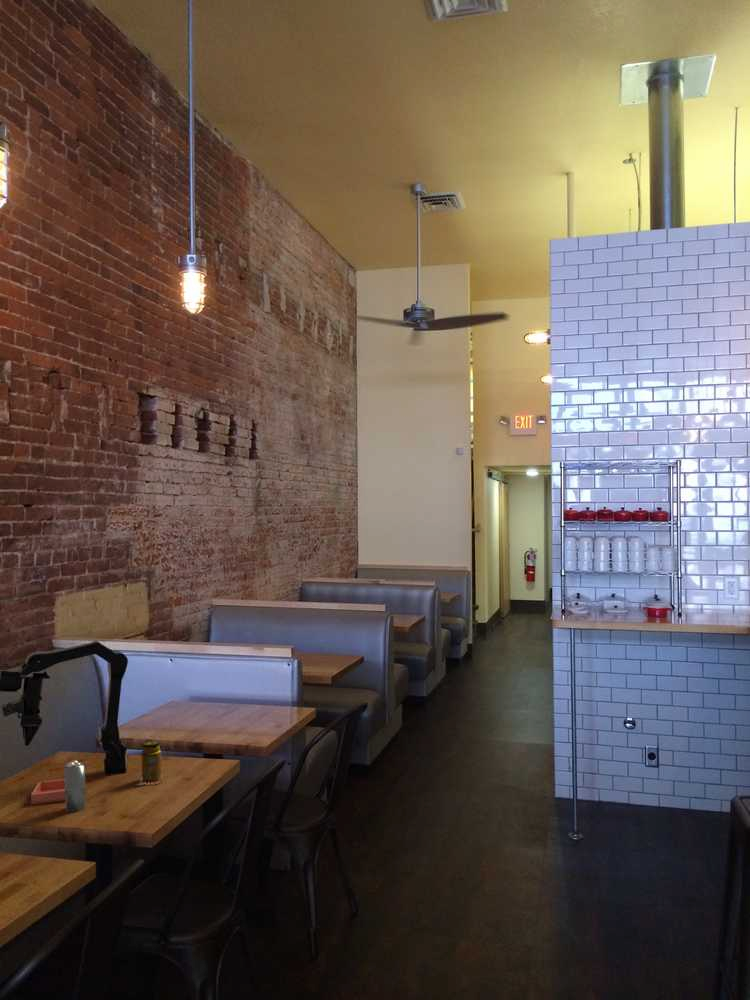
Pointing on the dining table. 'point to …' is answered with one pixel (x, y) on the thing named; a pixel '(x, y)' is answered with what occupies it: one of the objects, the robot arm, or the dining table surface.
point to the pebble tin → (75, 786)
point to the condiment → (151, 762)
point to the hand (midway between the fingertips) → (25, 741)
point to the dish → (48, 792)
